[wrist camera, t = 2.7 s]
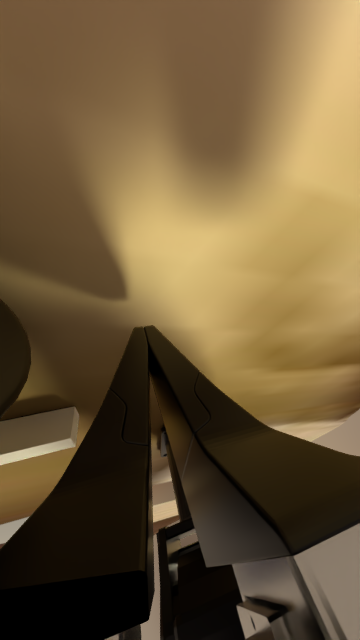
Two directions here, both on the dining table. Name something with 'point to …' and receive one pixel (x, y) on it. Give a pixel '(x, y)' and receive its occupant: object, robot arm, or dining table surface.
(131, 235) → the dining table surface
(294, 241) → the dining table surface
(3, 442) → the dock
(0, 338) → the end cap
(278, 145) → the dining table surface
